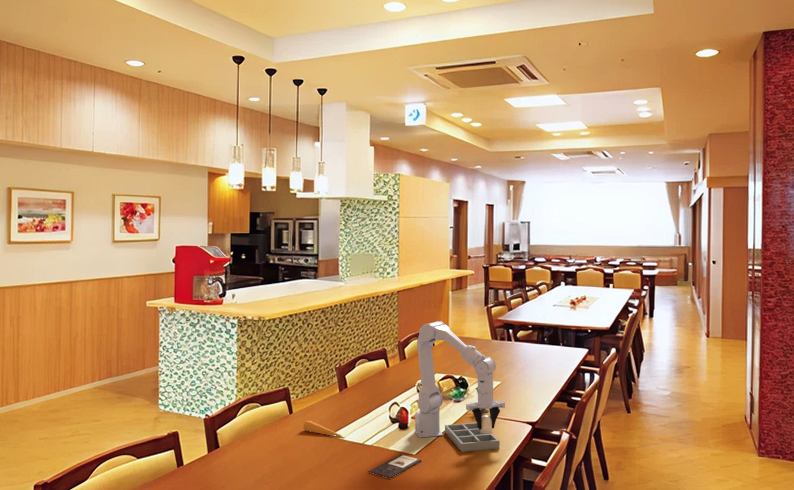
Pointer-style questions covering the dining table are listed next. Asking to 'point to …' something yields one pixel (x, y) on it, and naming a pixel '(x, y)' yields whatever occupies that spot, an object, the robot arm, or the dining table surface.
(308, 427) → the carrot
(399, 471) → the chocolate bar
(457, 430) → the grey compartment tray
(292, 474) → the dining table surface
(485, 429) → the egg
